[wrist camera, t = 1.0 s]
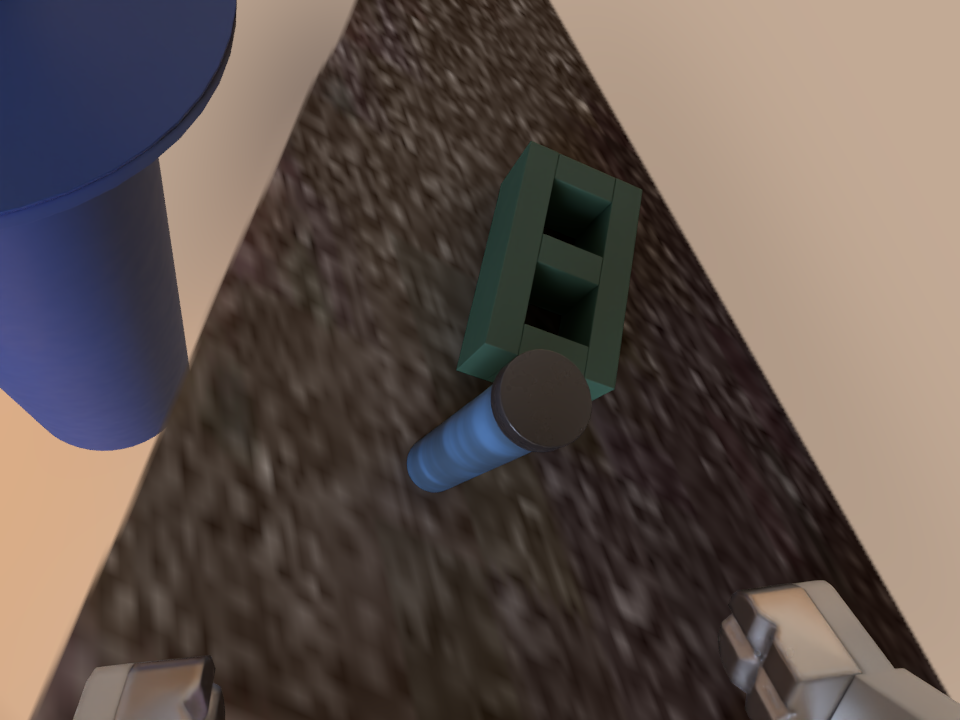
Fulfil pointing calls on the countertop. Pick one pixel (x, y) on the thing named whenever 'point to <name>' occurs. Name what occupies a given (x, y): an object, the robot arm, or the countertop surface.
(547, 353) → the handle
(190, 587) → the countertop surface
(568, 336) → the holder
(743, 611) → the robot arm
